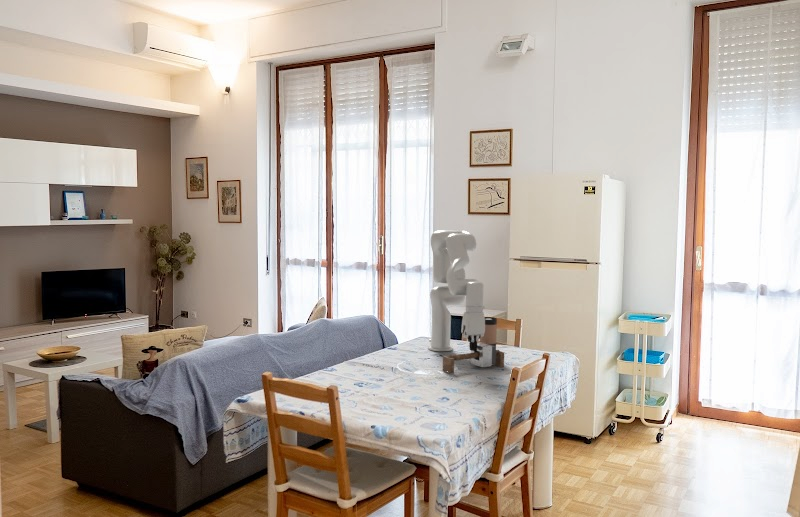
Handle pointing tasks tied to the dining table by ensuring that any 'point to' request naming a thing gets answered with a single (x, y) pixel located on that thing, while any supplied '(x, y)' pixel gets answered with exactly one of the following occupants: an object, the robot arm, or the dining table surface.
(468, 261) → the robot arm
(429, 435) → the dining table surface
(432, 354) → the dining table surface
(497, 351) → the dowel rail
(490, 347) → the sleeve
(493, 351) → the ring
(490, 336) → the travel mug
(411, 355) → the dining table surface
